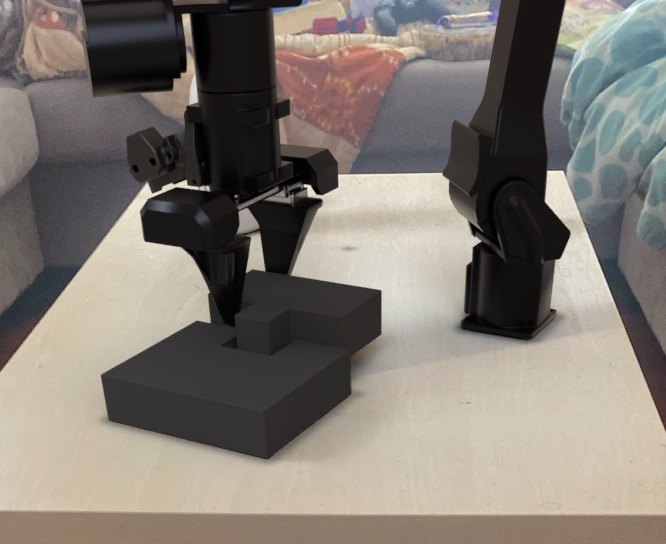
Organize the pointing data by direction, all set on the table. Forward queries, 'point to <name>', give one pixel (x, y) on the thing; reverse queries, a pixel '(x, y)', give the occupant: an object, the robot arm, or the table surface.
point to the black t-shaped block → (303, 313)
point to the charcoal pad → (227, 389)
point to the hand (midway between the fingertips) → (254, 309)
